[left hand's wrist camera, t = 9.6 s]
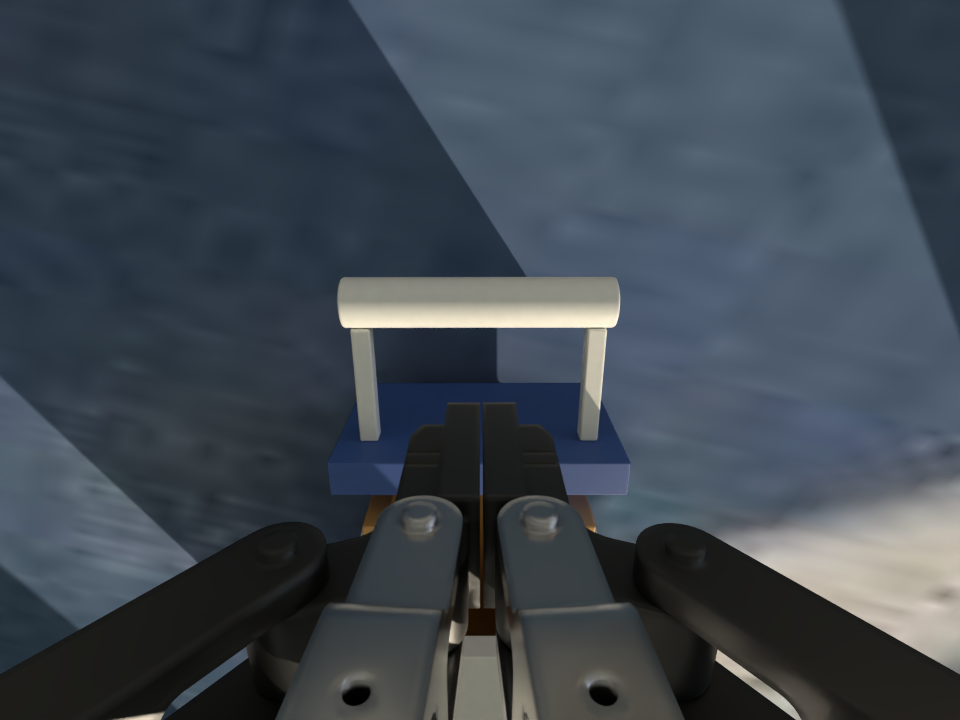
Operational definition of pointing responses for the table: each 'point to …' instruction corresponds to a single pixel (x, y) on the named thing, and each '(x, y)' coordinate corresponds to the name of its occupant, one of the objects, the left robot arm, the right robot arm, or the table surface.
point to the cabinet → (480, 680)
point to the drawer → (477, 386)
